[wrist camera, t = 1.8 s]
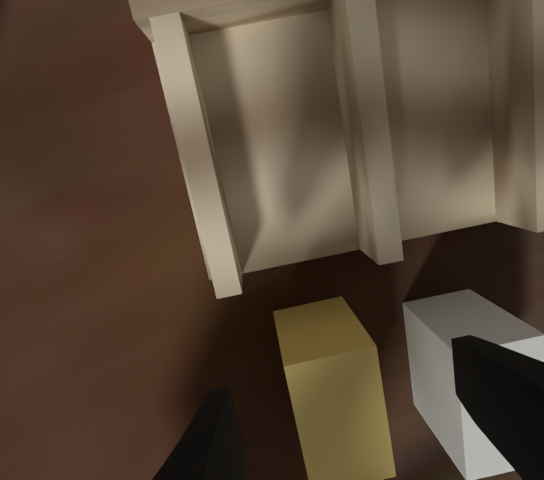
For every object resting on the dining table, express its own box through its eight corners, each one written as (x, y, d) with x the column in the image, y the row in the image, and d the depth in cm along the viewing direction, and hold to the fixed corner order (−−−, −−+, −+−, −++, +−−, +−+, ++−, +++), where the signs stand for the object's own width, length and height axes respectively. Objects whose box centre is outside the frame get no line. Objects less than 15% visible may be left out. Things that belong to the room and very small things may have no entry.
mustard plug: (362, 421, 20) (400, 505, 16) (300, 436, 20) (318, 525, 16) (341, 295, 19) (376, 345, 14) (272, 310, 19) (283, 366, 14)
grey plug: (476, 412, 21) (547, 491, 16) (416, 426, 21) (468, 509, 16) (468, 288, 19) (545, 334, 14) (401, 302, 19) (456, 354, 14)
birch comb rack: (515, 212, 18) (572, 225, 15) (210, 274, 18) (203, 301, 15) (506, -44, 16) (573, -95, 12) (149, 21, 15) (125, -14, 12)
